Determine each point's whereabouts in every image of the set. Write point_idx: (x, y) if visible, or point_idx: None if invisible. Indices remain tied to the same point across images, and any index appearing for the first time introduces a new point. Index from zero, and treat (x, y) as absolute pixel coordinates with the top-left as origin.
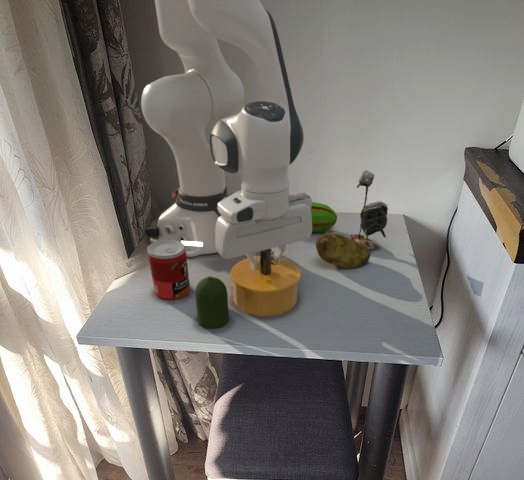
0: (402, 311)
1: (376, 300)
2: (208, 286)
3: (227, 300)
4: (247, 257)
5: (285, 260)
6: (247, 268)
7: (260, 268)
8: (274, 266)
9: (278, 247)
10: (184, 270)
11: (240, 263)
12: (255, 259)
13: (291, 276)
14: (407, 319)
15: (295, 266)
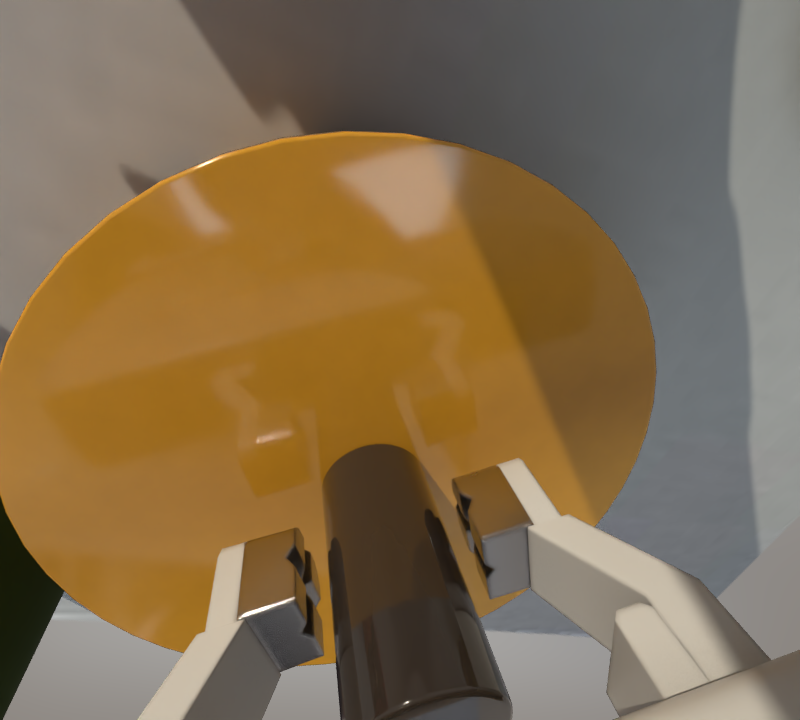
0: (774, 490)
1: (768, 426)
2: None
3: (35, 642)
4: (153, 699)
5: (620, 325)
6: (205, 409)
7: (319, 586)
8: (479, 412)
9: (618, 691)
10: None
11: (116, 285)
12: (278, 613)
13: None
14: (749, 524)
15: (629, 433)
